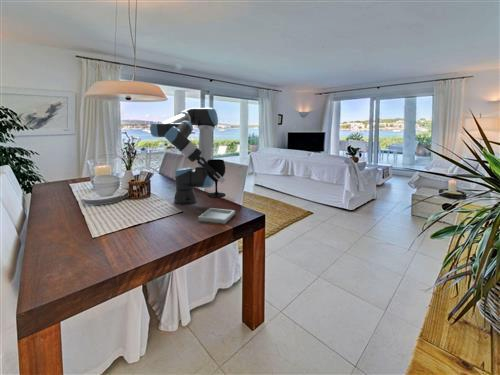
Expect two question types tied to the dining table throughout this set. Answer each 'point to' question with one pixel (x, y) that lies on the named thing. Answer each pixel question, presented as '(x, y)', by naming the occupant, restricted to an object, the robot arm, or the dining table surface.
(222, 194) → the wine glass
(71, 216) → the dining table surface
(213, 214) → the tray
